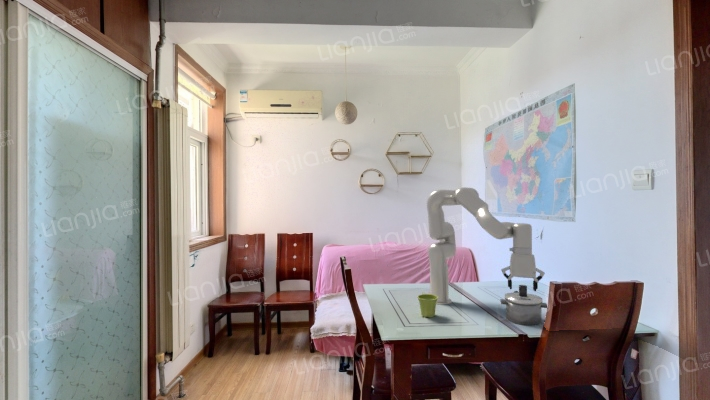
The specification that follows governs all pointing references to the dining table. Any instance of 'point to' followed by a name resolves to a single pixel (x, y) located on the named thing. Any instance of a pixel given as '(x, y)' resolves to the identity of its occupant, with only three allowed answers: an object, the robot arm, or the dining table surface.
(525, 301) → the lid
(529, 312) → the pot
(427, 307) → the plant pot
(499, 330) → the dining table surface
